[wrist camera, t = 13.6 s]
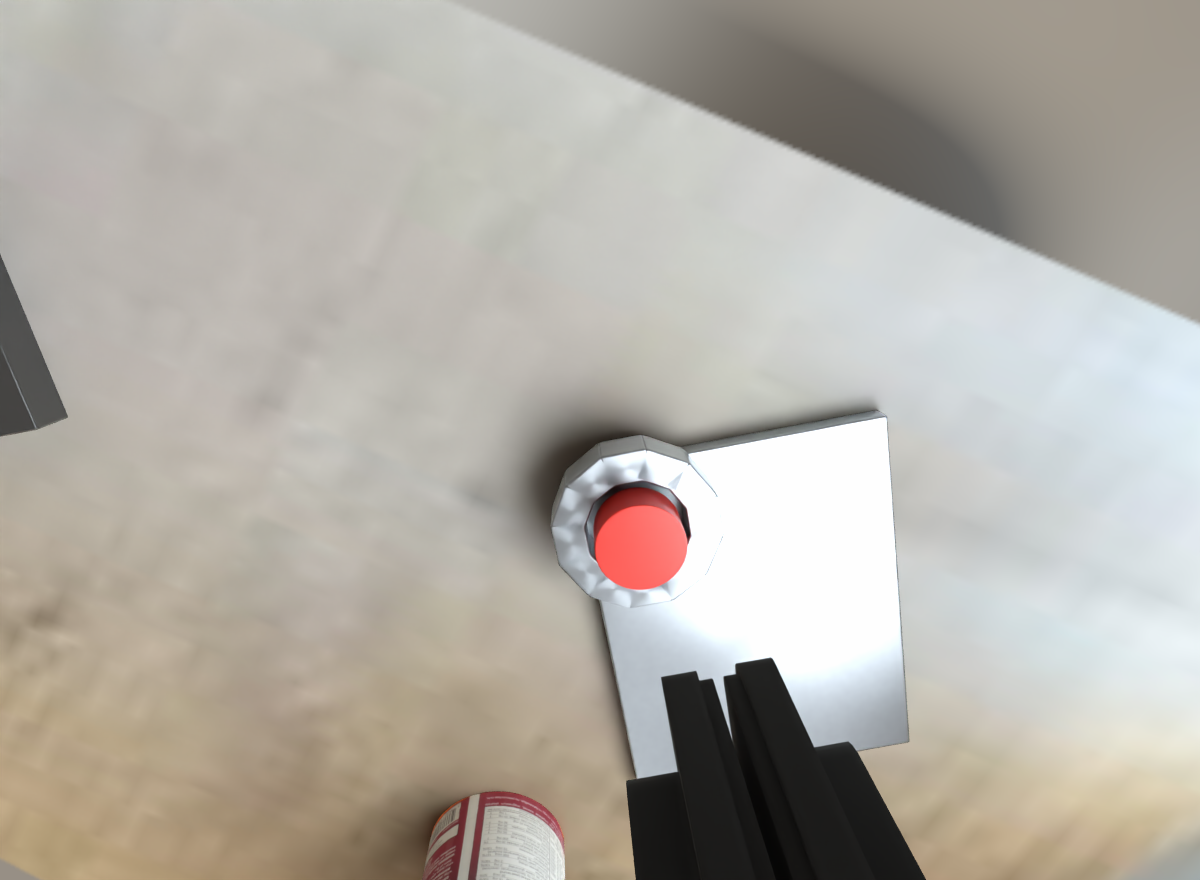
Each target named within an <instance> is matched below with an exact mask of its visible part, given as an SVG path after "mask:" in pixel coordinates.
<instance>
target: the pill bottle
mask: <svg viewBox="0 0 1200 880" xmlns="http://www.w3.org/2000/svg"><path fill="white" fill-rule="evenodd" d="M422 880H565V858H564V837H563V834H562V831H561V828H560V826H559V824H558V822H557V820H556V819H555V817H554V816H553V815H552V814H551V813H550V812H549V811H548V810H547V809H546V808H545V807H544V806H542V805H541V804H539V803H538V802H536V801H534V800H532V799H530V798H528V797H526V796H523V795H520V794H516V793H511V792H499V791H496V792H485V793H480V794H476V795H472V796H469V797H467V798H464V799H462V800H460V801H458V802H457V803H455V804H453V805H452V806H451V807H449V808H448V809H447V810H446V811H445V812H444V813H443V814H442V815H441V816H440V818H439V819H438V821H437V822H436V824H435V826H434V828H433V831H432V835H431V839H430V843H429V849H428V853H427V858H426V863H425V868H424V873H423V878H422Z"/></svg>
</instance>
